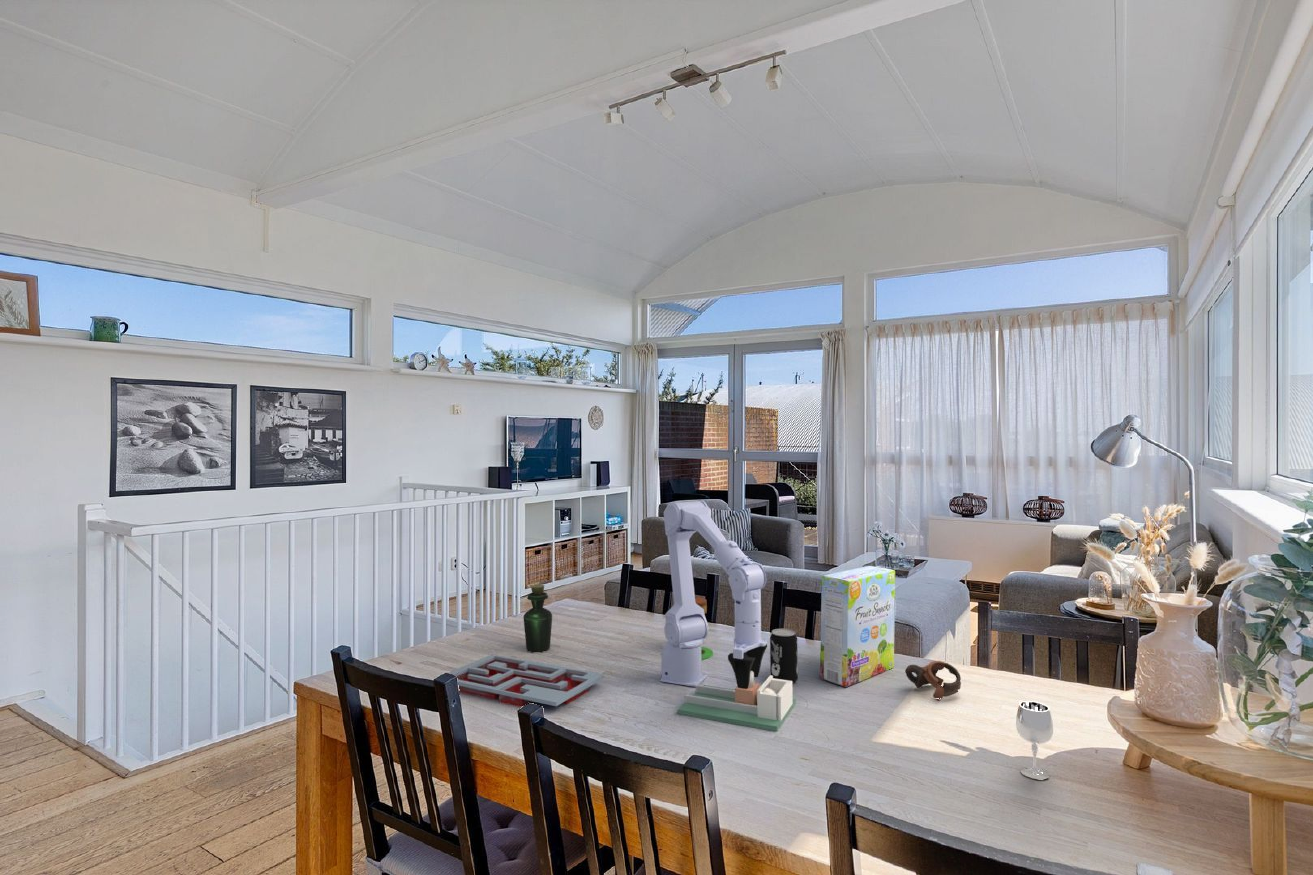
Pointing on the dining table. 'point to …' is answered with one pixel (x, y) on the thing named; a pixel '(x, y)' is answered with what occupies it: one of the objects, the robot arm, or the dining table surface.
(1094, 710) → the dining table surface
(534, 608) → the potion bottle
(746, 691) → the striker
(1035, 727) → the wineglass
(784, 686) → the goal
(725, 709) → the pitch board
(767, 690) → the ball
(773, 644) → the beverage can
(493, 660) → the maze game
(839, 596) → the snack box
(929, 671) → the brown curved loop
